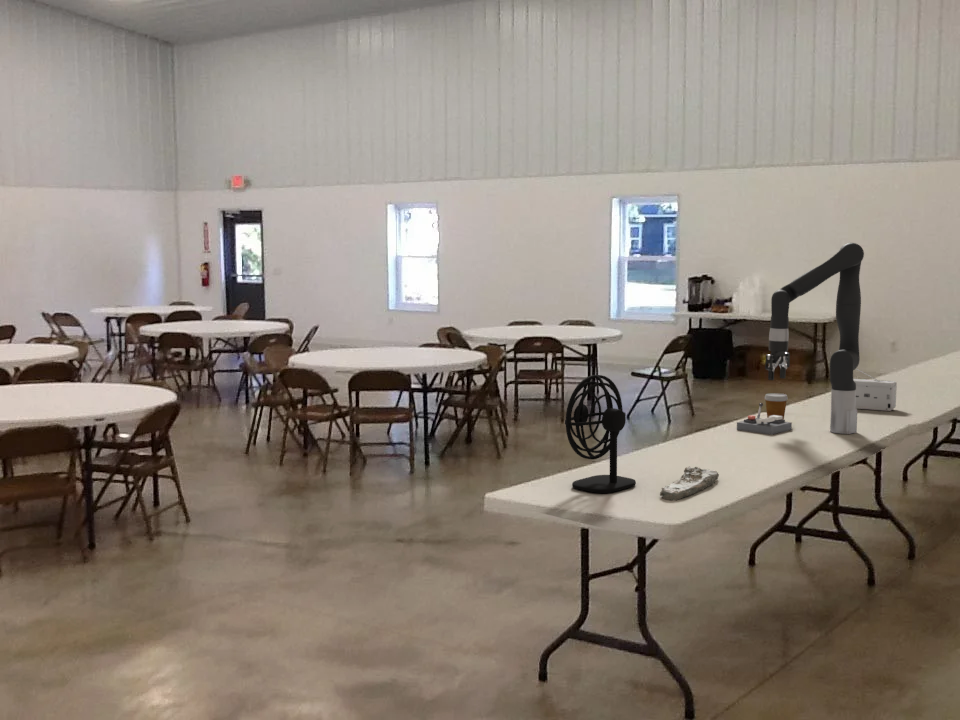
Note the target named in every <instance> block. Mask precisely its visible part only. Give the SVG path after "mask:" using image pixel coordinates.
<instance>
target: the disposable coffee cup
mask: <svg viewBox="0 0 960 720" xmlns="http://www.w3.org/2000/svg"><path fill="white" fill-rule="evenodd" d="M788 399H789V398H788V395H787V394H786V393H785V394H784V393H777V392H776V393H774V392H773V393H766V394H765V395H764V400H765V407H766V409H765V410H766V418H769V416H772V415H778V416H783V420H785V412H786V408H787V403H788V402H787V401H788Z"/></svg>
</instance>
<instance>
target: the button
mask: <svg viewBox="0 0 960 720" xmlns="http://www.w3.org/2000/svg"><path fill="white" fill-rule="evenodd" d="M755 418H756V415H752V414H751V415H747V419H750V420H754V419H755Z"/></svg>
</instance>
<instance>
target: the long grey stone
mask: <svg viewBox="0 0 960 720" xmlns="http://www.w3.org/2000/svg"><path fill="white" fill-rule="evenodd" d="M719 475H720V474H719V472H718V471H717V470H714V469H709V468H707V469H706V468H703V469H702V468H701V467H699V466H695V467H691V466H687V467H685V468H684V470H683V474H682V475H681V477H680V478H679V479H677V480H675V481H672V482H671V483H669V484H668V485H665V486H664V487H661V491H660V492H659V496H661V497H662V499H664V500H666V499H667V501H678V500H681V499H683V498H686V497H689V496H693V495H694V494H696V493H699V492H701V491H703V490H704V489H705V488H708V487H710V486H711V485H712V484H715V483H716V481H718V479H719Z"/></svg>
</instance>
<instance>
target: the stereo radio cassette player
mask: <svg viewBox="0 0 960 720" xmlns="http://www.w3.org/2000/svg"><path fill="white" fill-rule="evenodd" d="M856 371H859V372H860V373H862V374H863V375H866V376H867V377H870V378H871V379H864V378H853V380H854V382H855V383H856V402H855V408H856V409H857V410H858V409H859V410H861V409H862V410H871V411H872V410H873V411H874V410H875V411H887V412H890V411H892V410H894V409H895V408H896V406H897V405H896V404H897V381H896V380H880V379H877V378H875V377H873V376H872V375H870V374H868V373H866V372H864V371H862V370H860V369H858V368H856Z"/></svg>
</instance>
